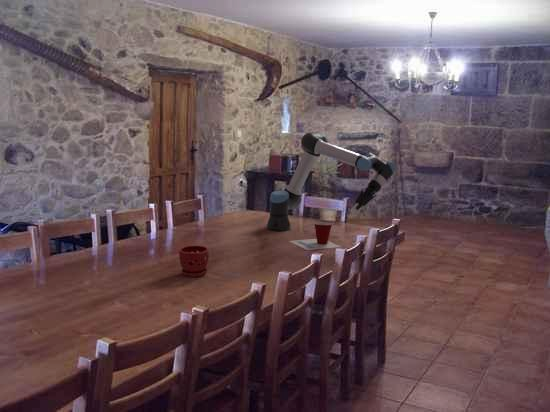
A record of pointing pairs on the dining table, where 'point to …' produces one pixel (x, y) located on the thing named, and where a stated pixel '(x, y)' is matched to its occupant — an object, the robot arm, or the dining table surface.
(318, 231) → the plastic cup
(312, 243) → the placemat
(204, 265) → the plant pot
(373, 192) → the robot arm
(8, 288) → the dining table surface
